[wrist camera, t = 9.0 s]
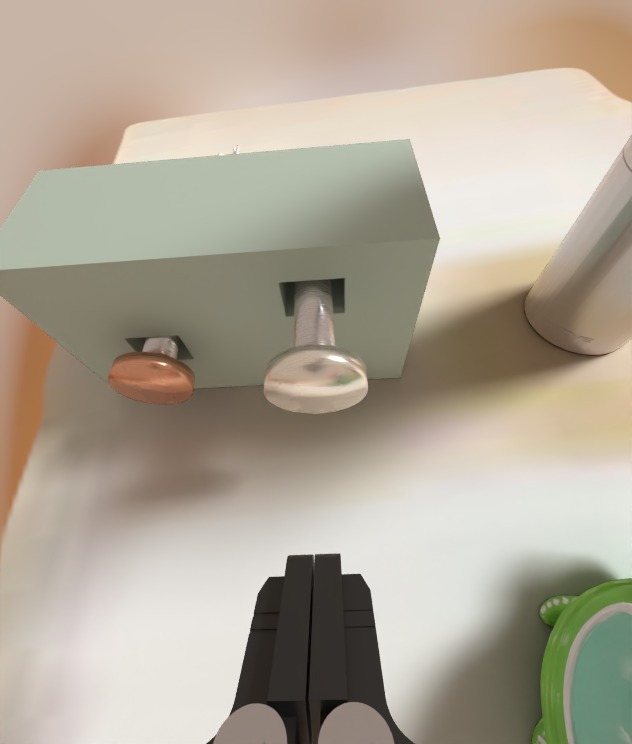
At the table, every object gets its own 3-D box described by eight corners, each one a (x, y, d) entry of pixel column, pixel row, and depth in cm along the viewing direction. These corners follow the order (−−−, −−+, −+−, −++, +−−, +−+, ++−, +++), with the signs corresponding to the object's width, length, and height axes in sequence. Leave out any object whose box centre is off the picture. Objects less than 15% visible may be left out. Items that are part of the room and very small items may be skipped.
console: (143, 309, 38) (38, 170, 25) (386, 294, 37) (409, 139, 24) (118, 392, 33) (-29, 272, 20) (400, 377, 31) (439, 238, 19)
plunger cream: (279, 263, 28) (266, 198, 23) (349, 258, 28) (350, 192, 23) (273, 415, 21) (253, 368, 17) (365, 411, 21) (371, 362, 16)
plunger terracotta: (166, 283, 34) (137, 234, 29) (222, 279, 34) (202, 230, 29) (133, 406, 28) (89, 369, 23) (203, 402, 27) (173, 364, 23)
